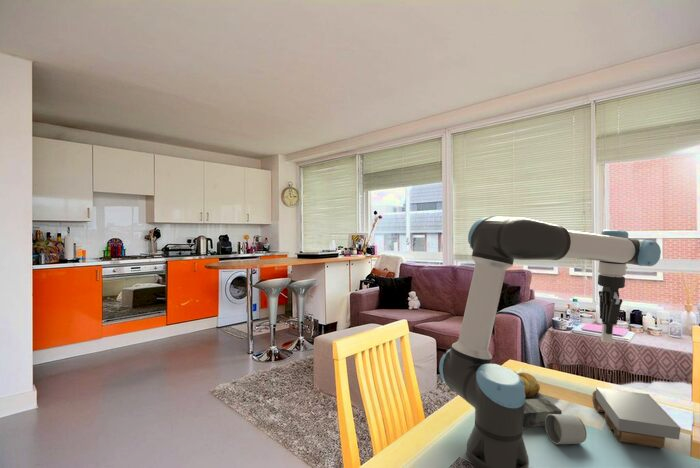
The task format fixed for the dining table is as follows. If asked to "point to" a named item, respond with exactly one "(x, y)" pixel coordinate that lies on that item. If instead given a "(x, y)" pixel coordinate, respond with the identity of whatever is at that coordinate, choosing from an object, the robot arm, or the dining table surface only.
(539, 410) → the stone block
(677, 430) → the slab
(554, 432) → the ceramic mug
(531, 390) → the bread roll
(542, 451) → the dining table surface
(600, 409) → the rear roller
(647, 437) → the loose roller
